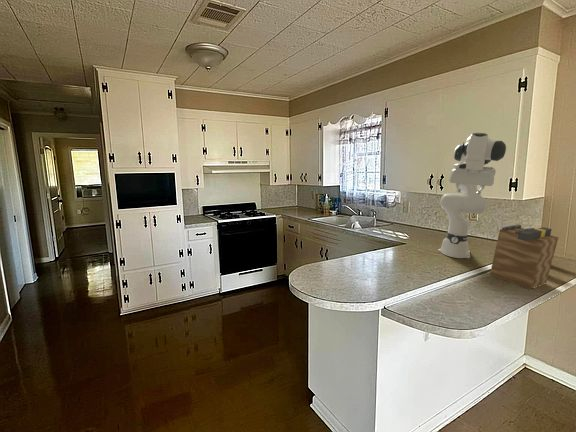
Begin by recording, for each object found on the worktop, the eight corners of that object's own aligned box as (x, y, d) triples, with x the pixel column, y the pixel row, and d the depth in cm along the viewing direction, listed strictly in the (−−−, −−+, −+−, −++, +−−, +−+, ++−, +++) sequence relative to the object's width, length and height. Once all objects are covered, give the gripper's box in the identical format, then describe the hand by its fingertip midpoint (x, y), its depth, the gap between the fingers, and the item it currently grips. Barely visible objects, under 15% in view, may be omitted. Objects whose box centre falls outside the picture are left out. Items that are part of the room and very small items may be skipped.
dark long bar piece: (542, 233, 168) (543, 227, 167) (550, 235, 165) (551, 229, 164) (517, 238, 157) (519, 232, 156) (525, 241, 154) (527, 234, 153)
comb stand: (530, 289, 162) (543, 238, 155) (489, 274, 179) (500, 226, 172) (545, 284, 169) (559, 234, 162) (505, 269, 186) (516, 223, 179)
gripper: (494, 167, 163) (488, 194, 166) (450, 164, 167) (445, 190, 170) (498, 168, 157) (493, 195, 160) (453, 164, 161) (448, 192, 164)
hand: (468, 193), depth 165 cm, fingers open, 8 cm apart
